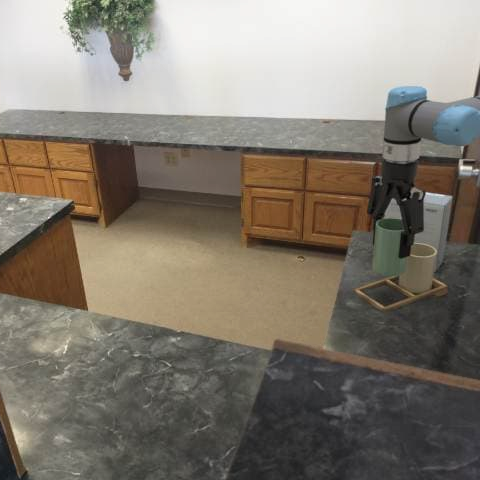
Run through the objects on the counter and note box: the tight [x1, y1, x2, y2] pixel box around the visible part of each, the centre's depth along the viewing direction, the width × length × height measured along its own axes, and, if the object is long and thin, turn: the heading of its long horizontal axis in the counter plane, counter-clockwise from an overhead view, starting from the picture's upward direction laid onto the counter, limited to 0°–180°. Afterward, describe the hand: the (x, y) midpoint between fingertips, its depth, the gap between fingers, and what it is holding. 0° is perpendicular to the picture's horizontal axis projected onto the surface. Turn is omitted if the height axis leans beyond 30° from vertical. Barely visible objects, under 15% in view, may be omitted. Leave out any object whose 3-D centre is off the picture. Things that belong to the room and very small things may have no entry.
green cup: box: [371, 217, 411, 277], centre depth 123 cm, size 8×8×12 cm
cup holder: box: [353, 276, 449, 314], centre depth 131 cm, size 11×20×2 cm, turn 112°
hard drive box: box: [382, 191, 454, 273], centre depth 142 cm, size 16×8×20 cm, turn 49°
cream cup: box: [398, 243, 437, 295], centre depth 130 cm, size 8×8×12 cm
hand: (390, 249), depth 123 cm, fingers closed on green cup, 8 cm apart
